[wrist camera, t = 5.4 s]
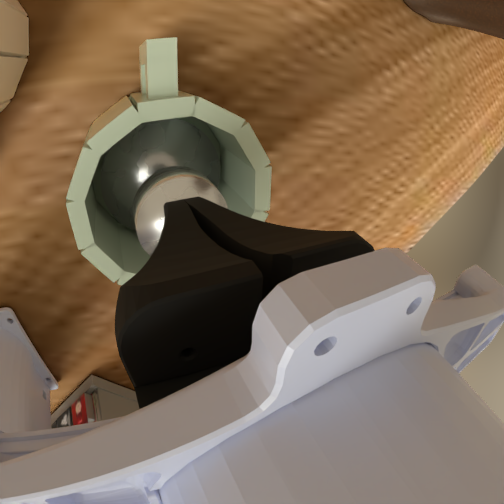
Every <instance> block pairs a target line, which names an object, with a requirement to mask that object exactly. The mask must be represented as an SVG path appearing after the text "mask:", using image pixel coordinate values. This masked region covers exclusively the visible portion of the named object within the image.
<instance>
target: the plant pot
mask: <svg viewBox="0 0 504 504" xmlns="http://www.w3.org/2000/svg"><path fill="white" fill-rule="evenodd" d="M404 1H405V2H406V3H407V5H408V6H409V7H410V8H411V9H412V10H414V11H415V12H417V13H419V14H421V15H423V16H425V17H426V18H428V19H429V20H430V21H432V22H435V23H441V24H447V25H452V26H457V27H461V28H466V29H470V30H474V31H478V32H481V33H485V34H489V35H492V36H495V37H499V38H502V39H504V0H404Z"/></svg>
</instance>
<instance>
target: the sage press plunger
mask: <svg viewBox="0 0 504 504" xmlns="http://www.w3.org/2000/svg"><path fill="white" fill-rule="evenodd" d="M219 180H220V162H219V158H218V154H217V152H216V149H215V147H214V145H213V143H212V142H211V141H210V139H209V138H208V137H207V136H206V135H205V134H204V133H203V132H202V131H201V130H200V129H198V128H197V127H196V126H194V125H193V124H191V123H189V122H187V121H184V120H181V119H178V118H172V119H164V120H157V121H150V122H144V123H141V124H140V125H138V126H137V127H136V128H134V129H133V130H132V131H131V132H129V133H128V134H127V135H125V136H124V137H123V138H122V139H120V140H119V141H118V142H117V143H116V144H114V145H113V146H112V147H111V148H109V149H108V151H107V153H106V155H105V157H104V160H103V164H102V169H101V182H100V184H101V192H102V196H103V199H104V202H105V204H106V206H107V208H108V209H109V211H110V212H111V214H112V215H113V216H114V217H115V218H116V219H117V220H118V221H119V222H120V223H122V224H123V225H125V226H126V227H128V228H130V229H132V230H135V231H137V235H138V239H139V242H140V244H141V246H142V247H143V249H144V250H145V251H146V252H147V253H148V254H149V255H150V256H151V255H152V253H153V251H154V250H155V248H156V246H157V243H158V241H159V239H160V236H161V232H162V229H163V226H164V220H165V215H164V207H163V206H164V204H165V203H166V202H171V201H176V200H181V199H187V198H192V197H202V198H204V199H207V200H209V201H211V202H213V203H216V204H218V205H220V206H222V207H224V208H227V209H228V206H227V203H226V201H225V199H224V197H223V195H222V194H221V193H220V192H219V190H218V189H217V188H218V185H219Z"/></svg>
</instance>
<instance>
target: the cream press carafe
mask: <svg viewBox="0 0 504 504" xmlns="http://www.w3.org/2000/svg"><path fill="white" fill-rule="evenodd" d="M26 16H28V14H27V13H26V12H25V10H24V9H23V7H22V6H21V5H20V3H19V2H18V0H0V113H1V111H2V110H3V109H4V108H5V107H6V106H7V105H8V104H9V103H10V102H11V101H10V99H11V98H13V97H14V94H15V91H16V88H17V86H18V83H19V81H20V78H21V75H22V73H23V71H24V68H25V66H26V63H27V61H28V59H27V56H28V55H29V18H28V17H26Z"/></svg>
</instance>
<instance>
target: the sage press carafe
mask: <svg viewBox="0 0 504 504" xmlns="http://www.w3.org/2000/svg"><path fill="white" fill-rule="evenodd" d="M139 61H140V85H141V92H138V93H131V94H130V96H129V97H127V95H126V96H125V97H123V98H122V99H121V100H119V101H118V102H117V103H116V104H114V105H113V106H112V107H110V108H109V109H108V110H107V111H105V112H104V113H103V114H102V115H100V116H99V117H98V118H97V119H96V120H94V122H93V124H91V126H90V129H89V131H88V134H87V136H86V139H85V142H84V144H83V147H82V150H81V152H80V155H79V158H78V161H77V164H76V167H75V170H74V173H73V176H72V180H71V183H70V186H69V190H68V193H67V197H66V199H67V201H66V207H67V211H68V215H69V218H70V222H71V226H72V229H73V233H74V237H75V240H76V243H77V247H78V250H81V254H82V255H83V256H84V257H85V258H86V259H87V260H88V261H89V262H91V263H92V264H93V265H94V266H95V267H96V268H97V269H98V270H100V271H101V272H102V273H103V274H104V275H105V276H106V277H108V278H109V279H110V280H111V281H112V282H113V283H114V282H115V281H116V280H117V284H118V285H123V284H124V283H126V282H127V281H128V280H129V279H131V278H132V277H133V276H134V275H136V274H137V273H138V272H139V271H140V270H141V269H142V267H143V266H144V265H145V264H146V263H147V261H148V260H149V258H150V255H149V254H148V253H147V252H146V251H145V250H144V249H143V247H142V246H141V244H140V242H139V239H138V235H137V231H135V230H132V229H130V228H128V227H126V226H125V225H123V224H122V223H120V222H119V221H118V220H117V219H116V218H115V217H114V216H113V215H112V214H111V212H110V211H109V209H108V208H107V206H106V204H105V202H104V199H103V196H102V192H101V184H100V182H101V169H102V164H103V160H104V157H105V155H106V153H107V151H108V149H109V148H111V147H112V146H113V145H114V144H116V143H117V142H118V141H119V140H120V139H122V138H123V137H124V136H125V135H127V134H128V133H129V132H131V131H132V130H133V129H134V128H136V127H137V126H138V125H140V124H141V123H144V122H150V121H157V120H164V119H172V118H178V119H181V120H184V121H187V122H189V123H191V124H193V125H194V126H196V127H197V128H198V129H200V130H201V131H202V132H203V133H204V134H205V135H206V136H207V137H208V138H209V139H210V141H211V142H212V143H213V145H214V147H215V149H216V152H217V154H218V158H219V162H220V180H219V185H218V188H217V189H218V190H219V192H220V193H221V194H222V195H223V197H224V199H225V201H226V203H227V206H228V209H229V210H231V211H234V212H236V213H239V214H242V215H244V216H247V217H250V218H253V219H256V220H260V221H265V220H266V218H267V216H268V213H267V212H266V211H268V210H270V196H271V173H272V167H271V166H270V165H268V164H270V163H271V162H270V160H269V158H268V156H267V155H266V153H265V151H264V149H263V147H262V146H261V144H260V142H259V140H258V138H257V137H256V135H255V133H254V131H253V130H252V128H251V126H250V124H249V123H248V122H245V119H243V118H241V117H239V116H237V115H235V114H233V113H231V112H229V111H227V110H225V109H223V108H221V107H219V106H217V105H215V104H213V103H211V102H209V101H207V100H205V99H203V98H201V97H198V96H195V95H192V94H189V93H186V92H182V91H179V90H178V66H177V37H173V38H160V39H149V40H146V41H145V42H144V43H143V44H141V45H140V46H139Z"/></svg>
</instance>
